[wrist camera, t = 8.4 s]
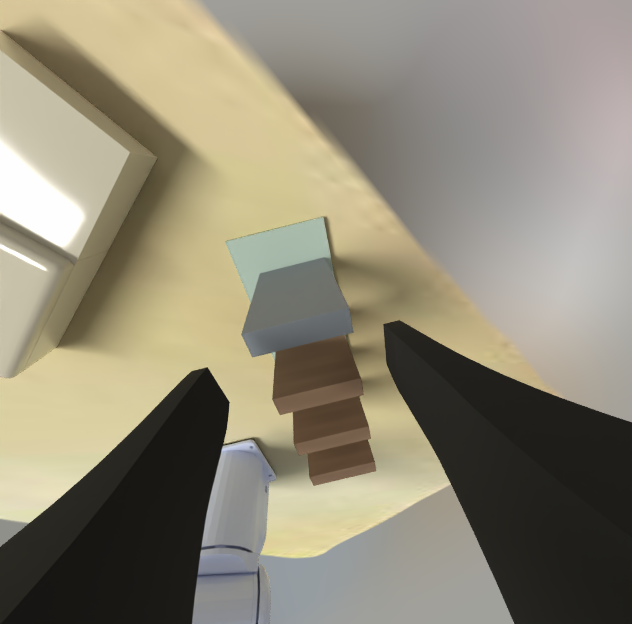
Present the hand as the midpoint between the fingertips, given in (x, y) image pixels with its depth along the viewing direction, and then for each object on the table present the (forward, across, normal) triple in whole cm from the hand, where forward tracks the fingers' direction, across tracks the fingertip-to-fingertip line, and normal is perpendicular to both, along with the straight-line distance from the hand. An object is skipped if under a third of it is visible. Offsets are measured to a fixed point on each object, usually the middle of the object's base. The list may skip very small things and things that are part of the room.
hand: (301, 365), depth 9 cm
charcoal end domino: (+10, 0, 0) cm, 10 cm away
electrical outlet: (+11, +15, -7) cm, 20 cm away
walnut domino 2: (+10, 0, +9) cm, 14 cm away
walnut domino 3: (+10, 0, +14) cm, 17 cm away
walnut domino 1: (+10, 0, +4) cm, 11 cm away
